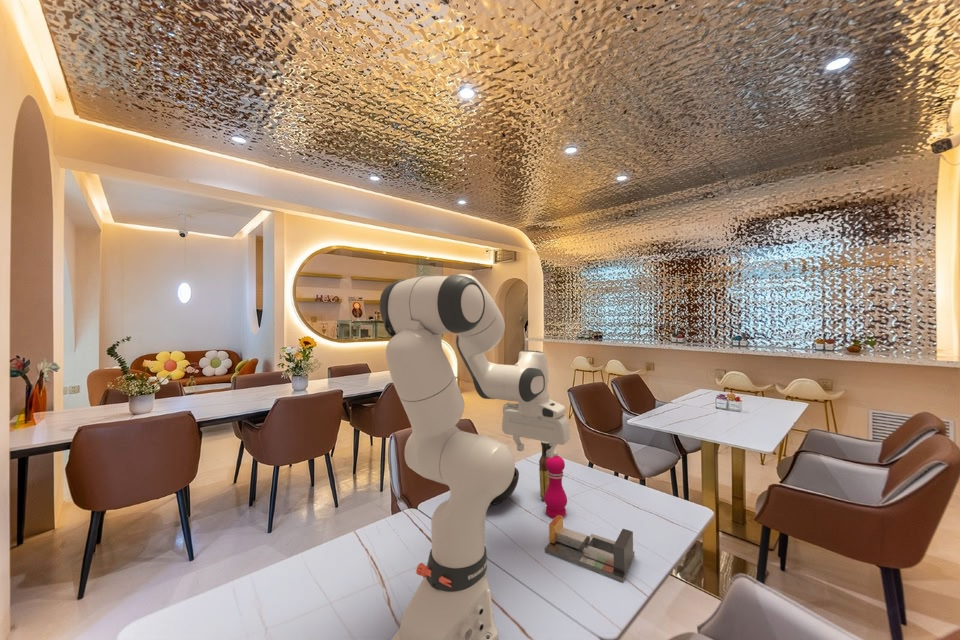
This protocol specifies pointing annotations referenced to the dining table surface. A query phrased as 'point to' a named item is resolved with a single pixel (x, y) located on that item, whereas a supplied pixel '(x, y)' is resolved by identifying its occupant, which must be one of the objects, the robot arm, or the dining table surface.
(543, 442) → the sauce bottle
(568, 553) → the bench
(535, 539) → the dining table surface
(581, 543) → the plunger
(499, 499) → the coal bowl
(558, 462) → the pepper mill
